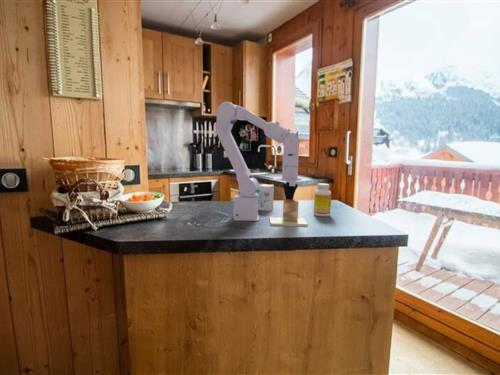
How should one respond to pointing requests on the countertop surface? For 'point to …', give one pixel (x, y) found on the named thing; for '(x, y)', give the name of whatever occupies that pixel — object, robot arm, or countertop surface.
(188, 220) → the countertop surface
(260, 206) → the light bulb box
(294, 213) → the beech block
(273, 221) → the sage board
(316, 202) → the supplement bottle
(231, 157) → the robot arm
